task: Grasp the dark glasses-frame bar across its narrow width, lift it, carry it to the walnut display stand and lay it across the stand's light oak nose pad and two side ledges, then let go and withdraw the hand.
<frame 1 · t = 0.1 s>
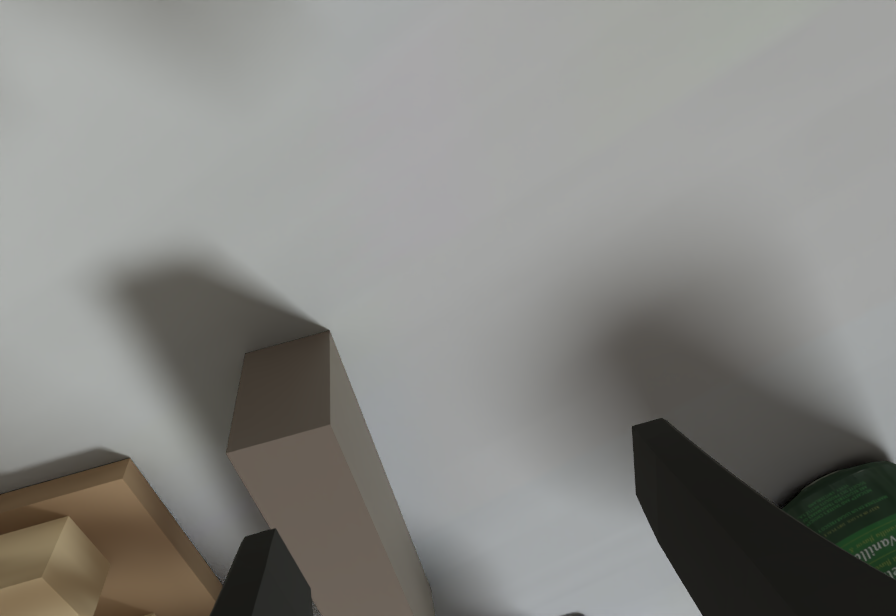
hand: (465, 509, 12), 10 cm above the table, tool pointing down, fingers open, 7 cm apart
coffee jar: (831, 515, 33), on the table
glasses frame: (354, 488, 25), on the table
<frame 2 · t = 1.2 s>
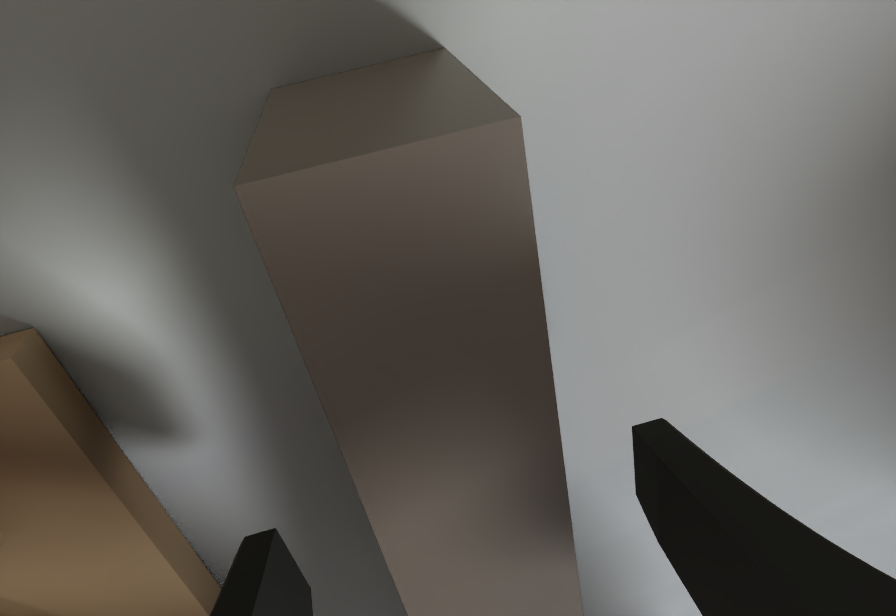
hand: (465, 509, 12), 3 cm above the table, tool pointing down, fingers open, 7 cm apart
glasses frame: (446, 408, 15), on the table
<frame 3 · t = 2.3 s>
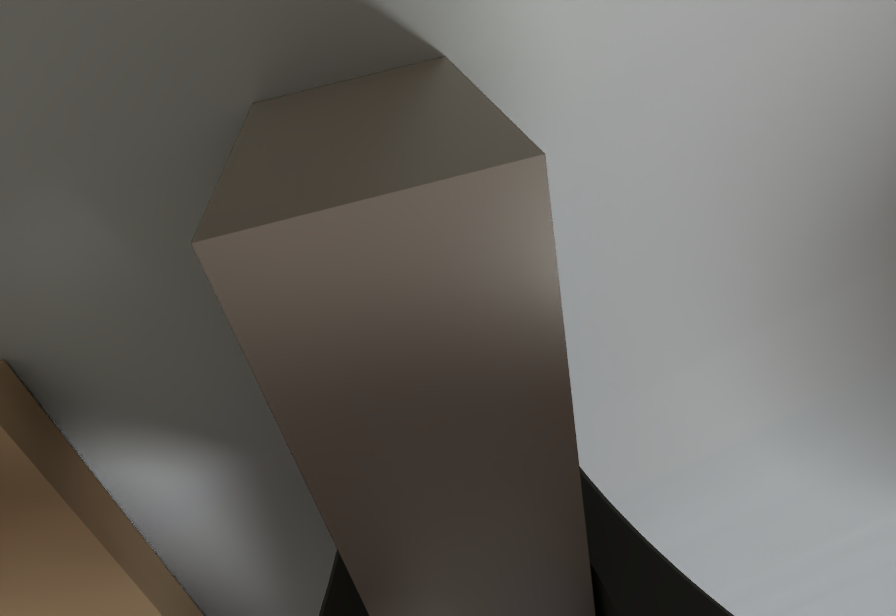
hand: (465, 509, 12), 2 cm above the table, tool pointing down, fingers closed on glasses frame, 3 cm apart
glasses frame: (449, 446, 14), on the table, touching gripper
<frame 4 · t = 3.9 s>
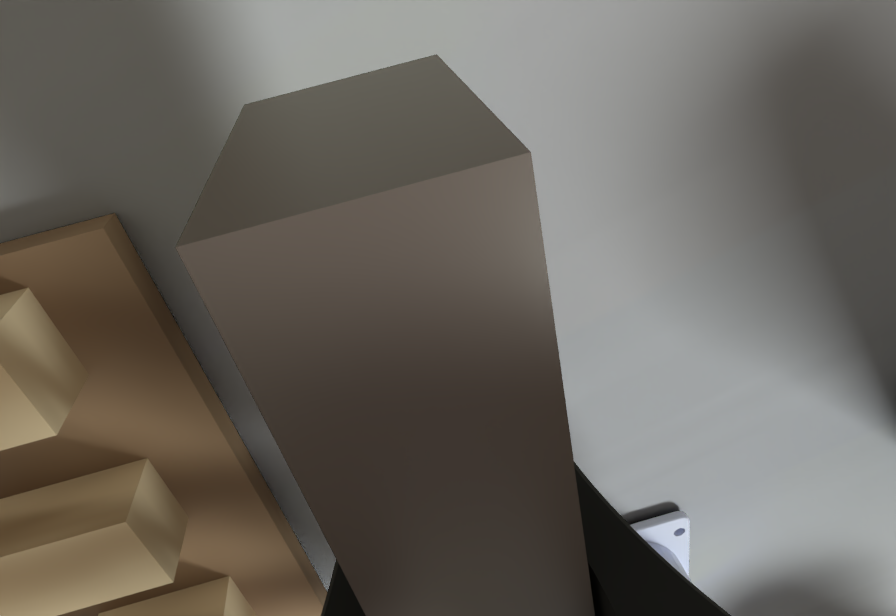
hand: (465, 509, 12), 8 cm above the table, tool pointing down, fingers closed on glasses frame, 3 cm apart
display stand: (104, 486, 21), on the table
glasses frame: (449, 445, 13), point 7 cm above the table, touching gripper
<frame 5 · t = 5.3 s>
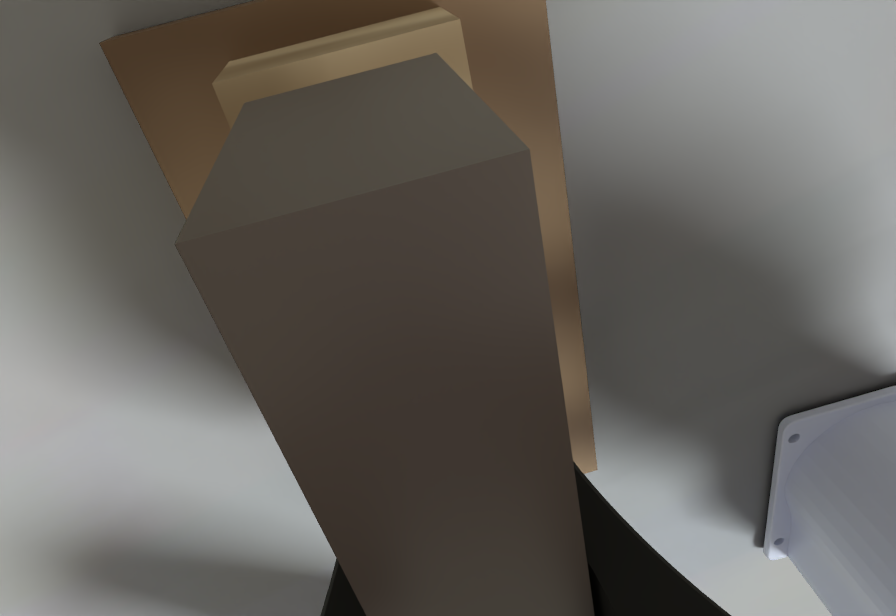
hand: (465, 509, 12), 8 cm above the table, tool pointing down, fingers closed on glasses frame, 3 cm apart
display stand: (412, 298, 19), on the table
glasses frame: (449, 444, 13), point 7 cm above the table, touching gripper
when the fingers open (6 cm above the table, at t = 6.0 s): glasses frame drops 1 cm, resting on display stand.
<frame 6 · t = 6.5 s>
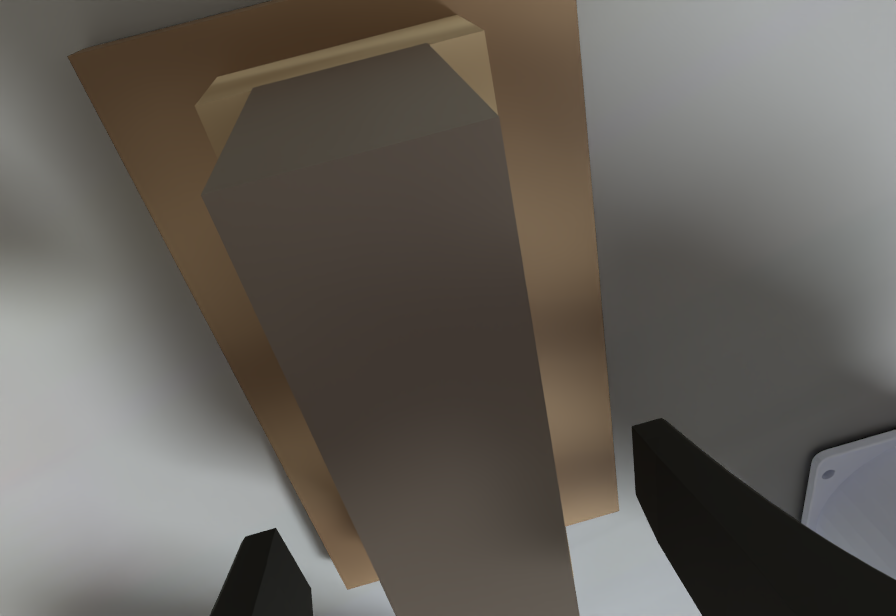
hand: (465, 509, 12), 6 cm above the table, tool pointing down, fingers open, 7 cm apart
display stand: (422, 332, 17), on the table
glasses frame: (441, 411, 14), point 3 cm above the table, touching display stand
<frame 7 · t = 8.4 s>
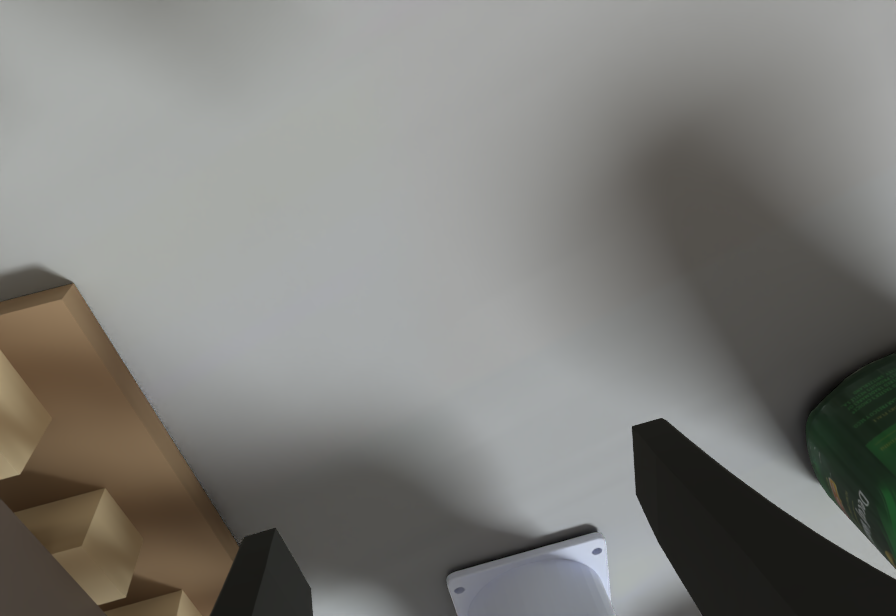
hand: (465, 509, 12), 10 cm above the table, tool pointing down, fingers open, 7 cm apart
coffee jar: (872, 418, 29), on the table
display stand: (68, 511, 23), on the table
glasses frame: (31, 592, 21), point 3 cm above the table, touching display stand
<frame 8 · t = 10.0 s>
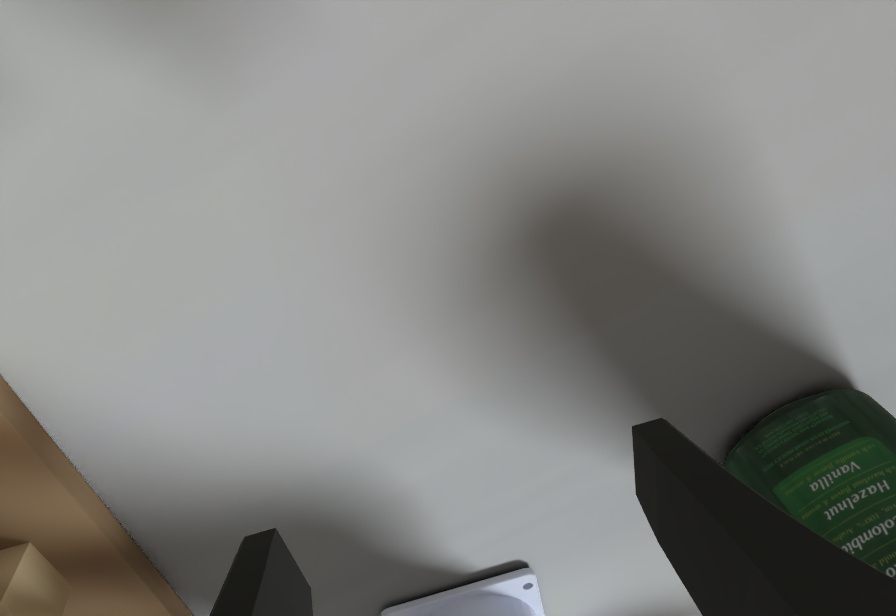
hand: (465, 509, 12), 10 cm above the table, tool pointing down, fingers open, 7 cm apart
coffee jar: (794, 455, 30), on the table
display stand: (0, 561, 24), on the table
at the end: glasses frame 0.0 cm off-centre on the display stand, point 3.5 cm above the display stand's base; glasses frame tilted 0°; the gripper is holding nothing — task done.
